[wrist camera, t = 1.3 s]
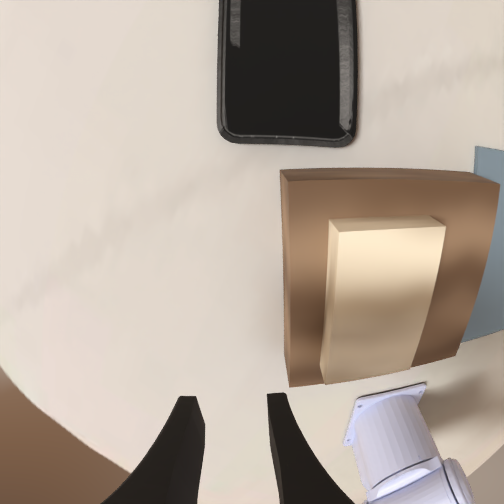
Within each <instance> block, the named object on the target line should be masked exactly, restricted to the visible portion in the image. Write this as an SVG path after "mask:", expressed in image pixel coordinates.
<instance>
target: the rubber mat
mask: <svg viewBox="0 0 504 504" xmlns="http://www.w3.org/2000/svg"><path fill="white" fill-rule="evenodd" d="M474 174H475V175H478V176H481V177H483V178H486V179H489V180H491V181H494V182H496V183H499V184H500V192H499V200H498V207H497V213H496V219H495V225H494V230H493V236H492V240H491V245H490V250H489V254H488V258H487V262H486V266H485V270H484V274H483V278H482V281H481V285H480V288H479V292H478V295H477V298H476V301H475V304H474V307H473V310H472V313H471V316H470V319H469V322H468V325H467V327H466V330H465V333H464V335H463V338H462V340H461V343H462V342H466V341H469V340H472V339H476V338H479V337H482V336H485V335H488V334H492V333H495V332H498V331H500V330H503V329H504V151H502V150H496V149H491V148H485V147H479V146H475V165H474Z"/></svg>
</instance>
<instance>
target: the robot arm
mask: <svg viewBox="0 0 504 504" xmlns="http://www.w3.org/2000/svg"><path fill="white" fill-rule="evenodd" d="M425 389H426V385H425V383H422V384H418V385H415V386H411V387H407V388H403V389H399V390H394V391H390V392H386V393H381V394H376V395H371V396H366V397H361V398H359V399H357V400H356V402H355V406H354V409H353V413H352V416H351V419H350V422H349V426H348V429H347V432H346V435H345V438H344V441H343V445H344V446H349V445H352V448H353V452H354V456H355V460H356V463H357V467H358V471H359V475H360V479H361V482H362V485H363V486H364V488H365V489H366V490H367V492H366V496H367V500H365V501H364V502H363V503H362V504H475V500H474V496H473V493H472V490H471V487H470V485H469V482H468V480H467V478H466V475H465V473H464V471H463V469H462V467H461V466H460V464H459V462H458V461H457V460H456V459H451V458H448V459H446V460H445V461H444V460H443V459H442V458H441V456H440V454H439V451H438V449H437V447H436V444H435V442H434V440H433V438H432V435H431V433H430V431H429V429H428V427H427V424H426V422H425V420H424V418H423V416H422V414H421V412H420V409H419V407H418V403H419V401H420V399H421V397H422V395H423V393H424V391H425ZM267 403H268V421H269V436H270V447H271V453H272V458H273V464H274V470H275V475H276V480H277V486H278V492H279V499H280V504H355V503H354V502H353V501H352V500H351V499H350V498H349V497H348V496H347V495H346V494H345V493H344V492H343V491H342V490H341V489H340V488H339V487H338V485H337V484H336V483H335V482H334V481H333V479H332V478H331V477H330V476H329V474H328V473H327V472H326V470H325V469H324V468H323V466H322V465H321V464H320V462H319V461H318V459H317V458H316V456H315V455H314V453H313V451H312V450H311V448H310V447H309V445H308V443H307V441H306V440H305V438H304V436H303V434H302V432H301V430H300V428H299V426H298V424H297V422H296V420H295V418H294V416H293V413H292V411H291V408H290V405H289V402H288V399H287V395H286V394H285V393H271V394H267ZM204 448H205V423H204V420H203V417H202V414H201V411H200V408H199V404H198V401H197V398H196V396H180V397H179V398H178V400H177V402H176V404H175V406H174V408H173V410H172V412H171V414H170V416H169V418H168V420H167V422H166V423H165V425H164V427H163V429H162V430H161V432H160V434H159V435H158V437H157V439H156V440H155V442H154V444H153V445H152V446H151V448H150V449H149V451H148V452H147V454H146V455H145V457H144V458H143V460H142V461H141V462H140V463H139V465H138V466H137V467H136V469H135V470H134V471H133V472H132V473H131V475H130V476H129V477H128V478H127V479H126V480H125V481H124V482H123V483H122V484H121V486H119V488H118V489H117V490H115V492H113V493H112V494H111V495H110V496H109V497H108V498H107V499H106V500H104V501H103V502H102V503H101V504H197V498H198V489H199V482H200V475H201V469H202V462H203V455H204Z"/></svg>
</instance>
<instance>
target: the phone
mask: <svg viewBox="0 0 504 504" xmlns="http://www.w3.org/2000/svg"><path fill="white" fill-rule="evenodd" d="M357 79H358V56H357V20H356V2H355V0H219V21H218V57H217V127H218V131H219V133H220V134H221V136H222V137H223V138H224V139H225V140H227V141H229V142H231V143H238V144H285V145H306V146H322V147H335V148H336V147H343V146H345V145H347V144H349V143H350V142H351V141H352V139H353V138H354V136H355V132H356V117H357Z"/></svg>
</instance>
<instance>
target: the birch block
mask: <svg viewBox="0 0 504 504" xmlns="http://www.w3.org/2000/svg"><path fill="white" fill-rule="evenodd" d="M445 230H446V226H445V225H443V224H442V223H440V222H438V221H437V220H435V219H434V218H432V217H431V216H429V215H421V216H392V217H368V218H346V219H329V234H328V262H327V281H326V298H325V312H324V325H323V336H322V347H321V357H320V368H321V372H322V376H323V380H324V383H325V385H327V384H334V383H341V382H347V381H354V380H359V379H365V378H370V377H376V376H381V375H386V374H390V373H395V372H400V371H404V370H408V369H410V367H411V364H412V361H413V359H414V356H415V353H416V350H417V347H418V344H419V341H420V337H421V334H422V331H423V328H424V324H425V321H426V317H427V314H428V310H429V306H430V303H431V299H432V295H433V291H434V286H435V282H436V278H437V273H438V268H439V264H440V259H441V253H442V248H443V242H444V236H445Z"/></svg>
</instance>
